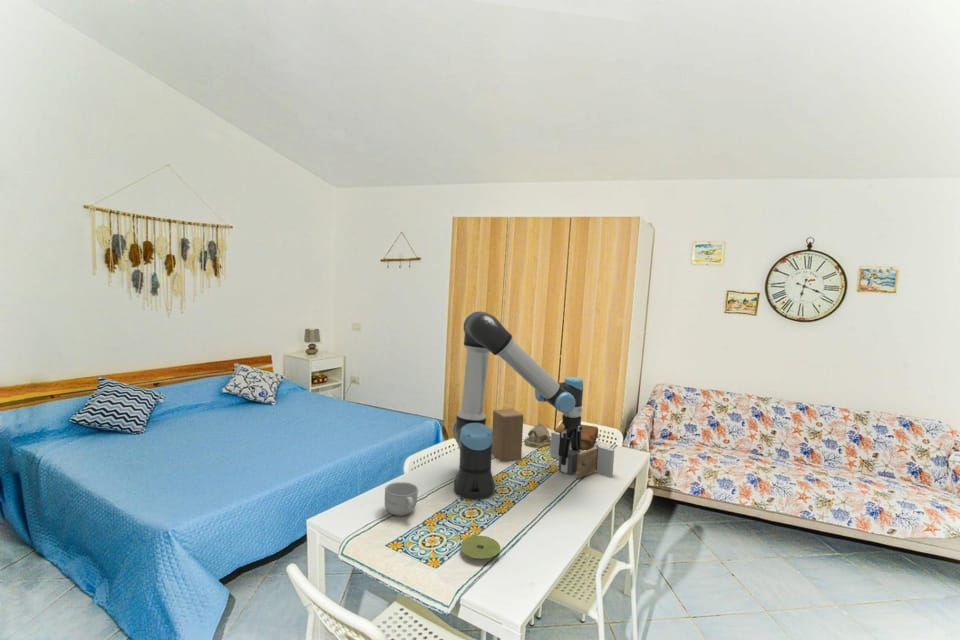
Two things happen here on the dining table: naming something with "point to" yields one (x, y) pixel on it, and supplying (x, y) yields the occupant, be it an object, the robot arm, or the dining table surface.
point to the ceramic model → (538, 436)
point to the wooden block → (507, 434)
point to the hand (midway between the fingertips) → (568, 469)
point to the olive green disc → (480, 547)
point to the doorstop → (570, 461)
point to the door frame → (603, 459)
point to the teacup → (400, 498)
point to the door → (587, 462)
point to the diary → (584, 435)
